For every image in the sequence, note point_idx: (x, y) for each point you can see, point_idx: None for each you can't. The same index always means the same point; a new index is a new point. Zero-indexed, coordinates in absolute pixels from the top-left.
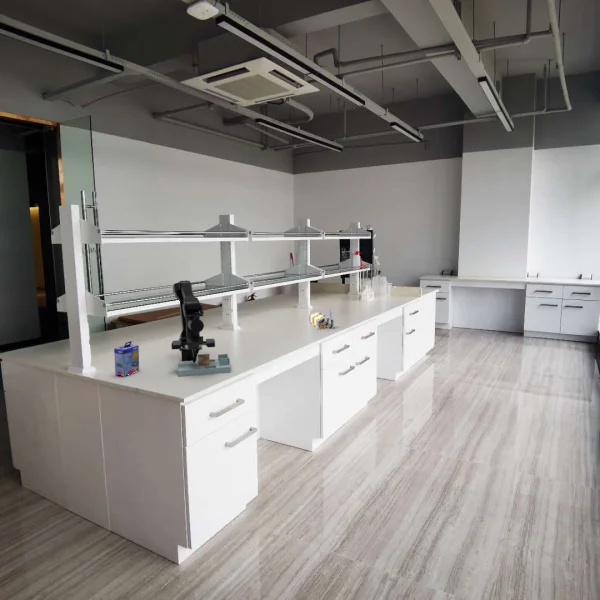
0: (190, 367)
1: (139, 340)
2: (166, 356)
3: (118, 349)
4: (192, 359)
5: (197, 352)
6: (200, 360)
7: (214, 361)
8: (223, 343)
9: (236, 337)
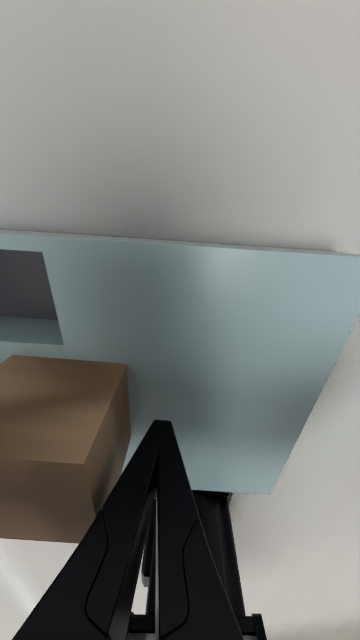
0: (207, 347)
1: (298, 636)
2: (269, 559)
3: None
4: (178, 457)
5: (44, 621)
6: (73, 410)
7: None
8: None
9: None
